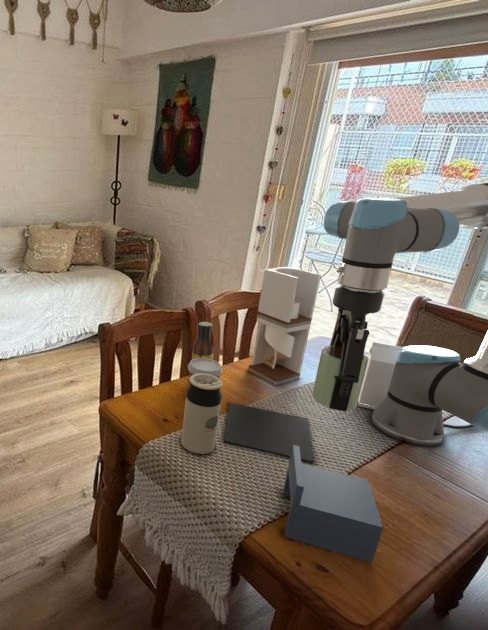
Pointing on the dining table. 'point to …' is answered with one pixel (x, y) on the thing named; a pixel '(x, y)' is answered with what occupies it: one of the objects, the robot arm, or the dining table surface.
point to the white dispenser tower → (284, 323)
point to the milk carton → (378, 374)
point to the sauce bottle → (203, 342)
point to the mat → (268, 431)
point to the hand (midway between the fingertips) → (334, 398)
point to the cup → (326, 380)
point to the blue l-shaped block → (331, 510)
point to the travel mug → (201, 413)
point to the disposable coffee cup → (204, 367)
